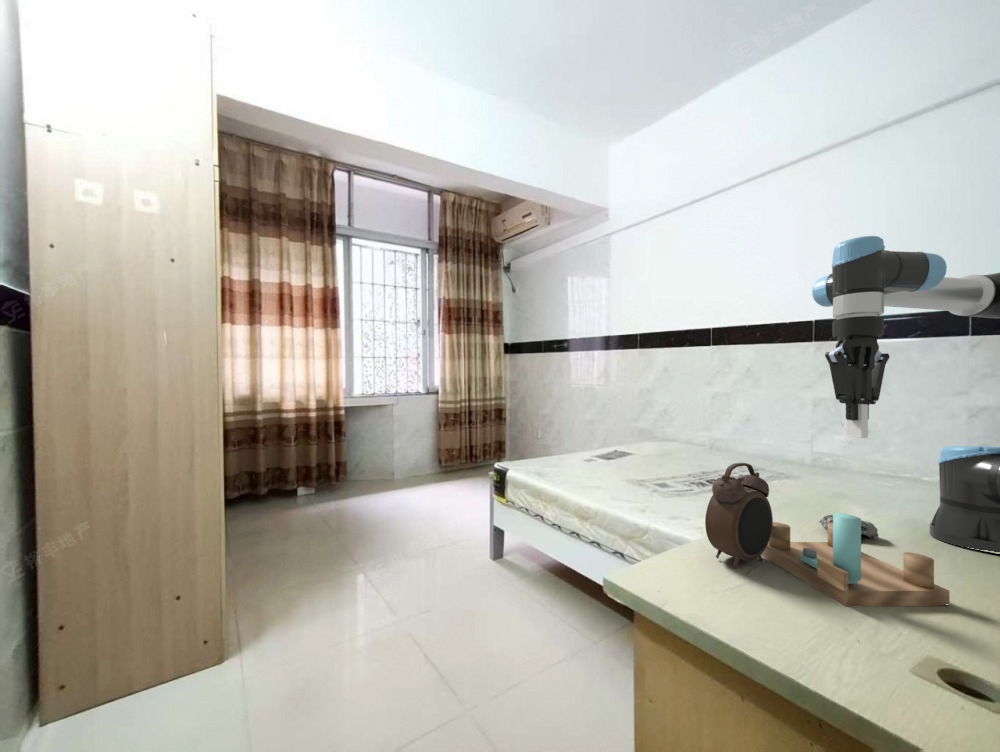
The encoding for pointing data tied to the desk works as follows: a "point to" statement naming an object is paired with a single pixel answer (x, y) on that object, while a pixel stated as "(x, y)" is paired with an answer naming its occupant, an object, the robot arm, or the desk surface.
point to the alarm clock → (739, 515)
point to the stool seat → (877, 577)
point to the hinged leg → (842, 547)
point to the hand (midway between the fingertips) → (857, 437)
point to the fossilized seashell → (866, 527)
